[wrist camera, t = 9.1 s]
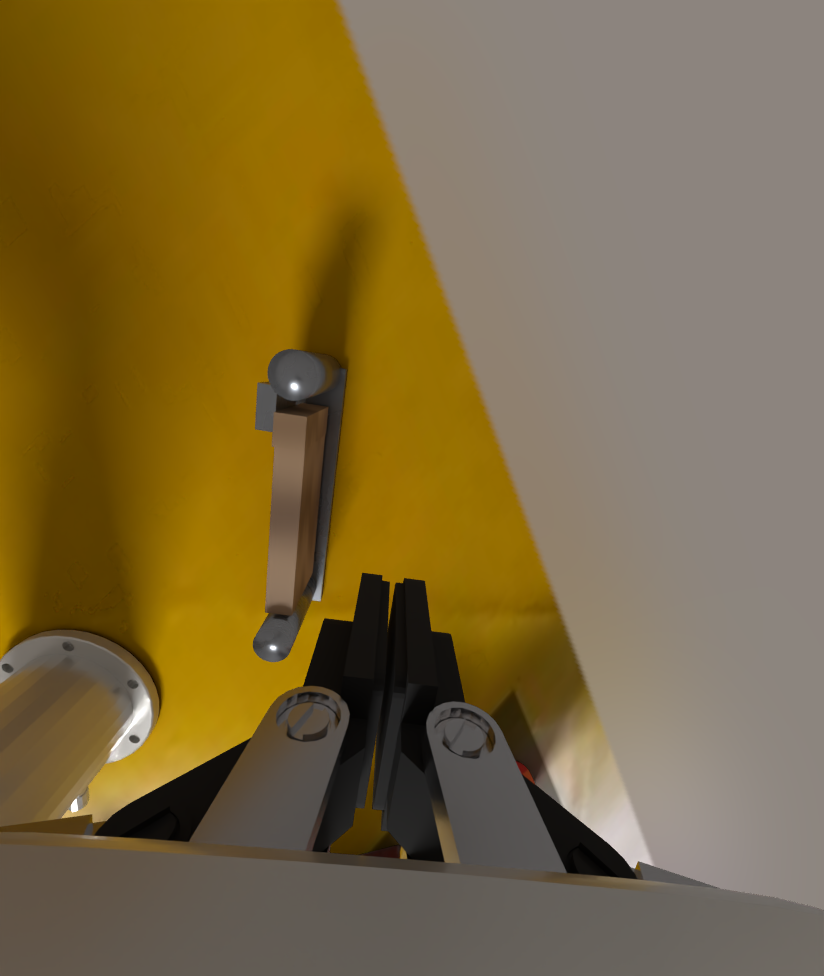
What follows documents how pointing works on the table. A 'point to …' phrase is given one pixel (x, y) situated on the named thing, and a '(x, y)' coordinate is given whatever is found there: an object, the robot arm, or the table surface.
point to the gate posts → (325, 386)
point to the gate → (294, 503)
